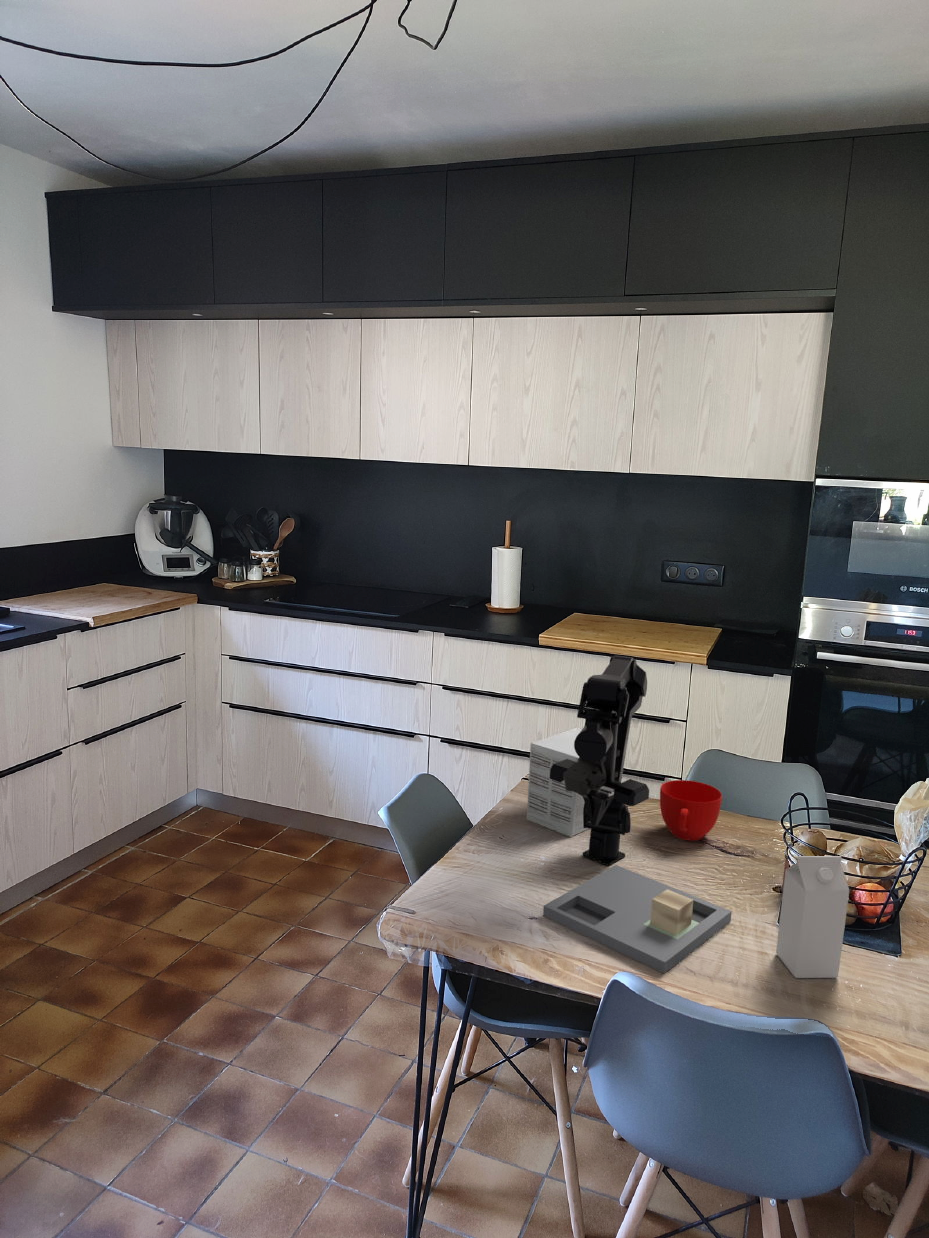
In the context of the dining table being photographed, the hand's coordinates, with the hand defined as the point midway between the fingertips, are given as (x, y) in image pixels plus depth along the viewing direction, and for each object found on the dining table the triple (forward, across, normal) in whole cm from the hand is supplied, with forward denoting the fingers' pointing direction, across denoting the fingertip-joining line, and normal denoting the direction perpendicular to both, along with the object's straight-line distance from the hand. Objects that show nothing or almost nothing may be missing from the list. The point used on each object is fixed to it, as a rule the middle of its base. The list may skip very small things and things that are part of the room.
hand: (594, 824), depth 163 cm
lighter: (+12, +30, +27) cm, 42 cm away
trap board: (+12, +13, -4) cm, 18 cm away
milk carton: (+12, +40, +3) cm, 42 cm away
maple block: (+10, +20, -5) cm, 23 cm away
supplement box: (+12, -21, +23) cm, 33 cm away
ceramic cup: (+12, +2, +33) cm, 35 cm away
